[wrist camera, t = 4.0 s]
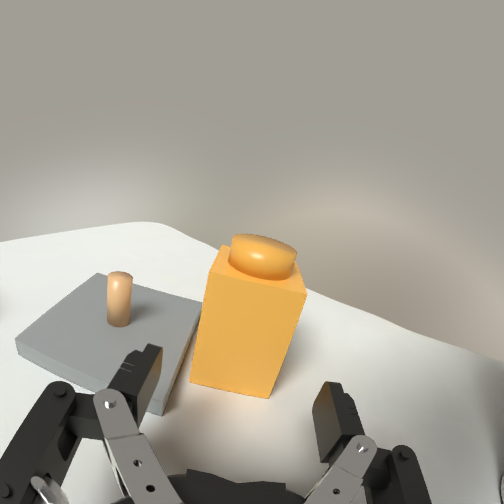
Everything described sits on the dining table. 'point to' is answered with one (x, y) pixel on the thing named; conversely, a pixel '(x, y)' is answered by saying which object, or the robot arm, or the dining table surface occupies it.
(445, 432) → the dining table surface
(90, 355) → the base
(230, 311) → the tall orange stud brick
